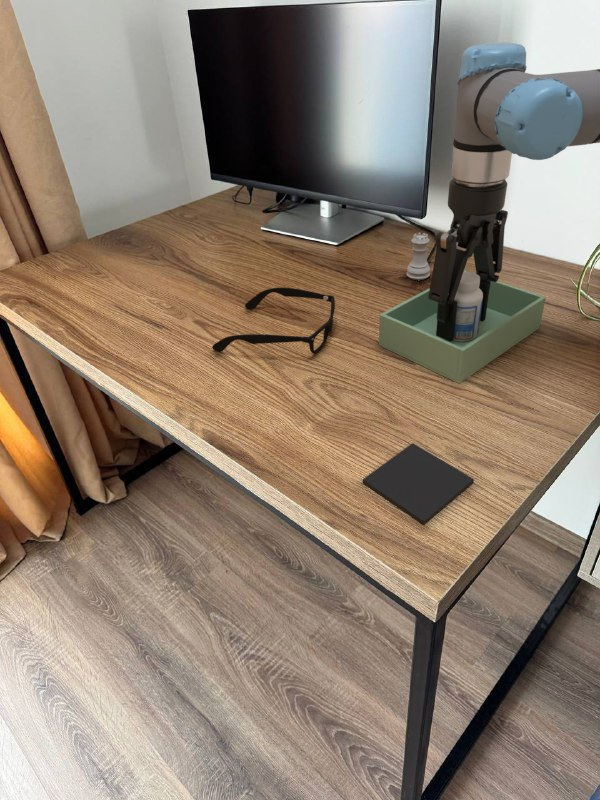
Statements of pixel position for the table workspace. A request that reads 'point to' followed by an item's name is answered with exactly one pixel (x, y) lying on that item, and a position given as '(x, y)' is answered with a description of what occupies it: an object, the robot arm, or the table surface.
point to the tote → (416, 340)
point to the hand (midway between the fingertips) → (460, 327)
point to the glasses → (280, 338)
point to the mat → (418, 482)
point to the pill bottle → (468, 307)
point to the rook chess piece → (419, 258)
